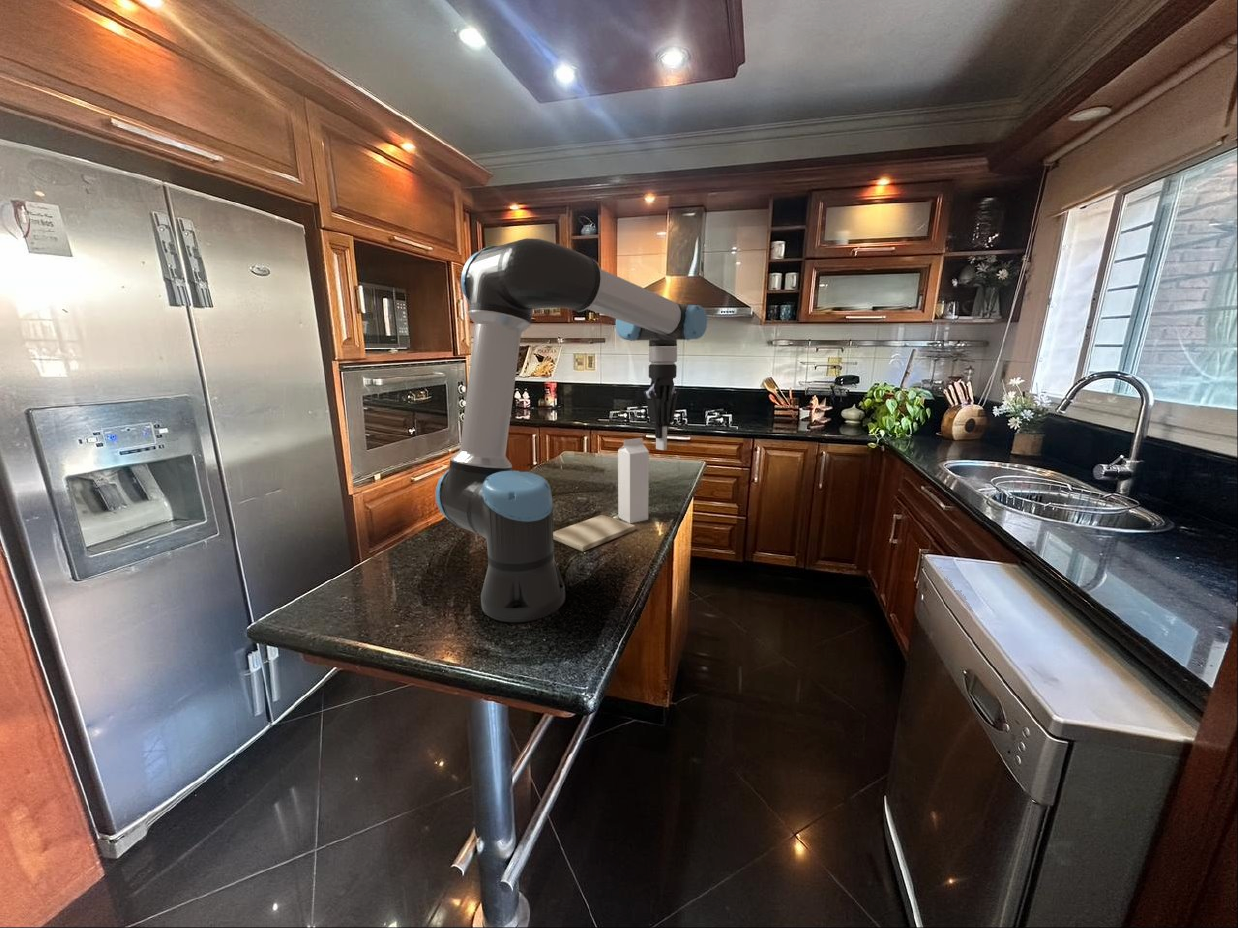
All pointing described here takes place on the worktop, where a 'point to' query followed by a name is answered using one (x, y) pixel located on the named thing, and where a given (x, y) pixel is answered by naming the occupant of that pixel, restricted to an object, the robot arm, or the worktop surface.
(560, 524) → the worktop surface
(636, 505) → the white carton-shaped block
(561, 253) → the robot arm
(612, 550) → the worktop surface
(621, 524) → the board
